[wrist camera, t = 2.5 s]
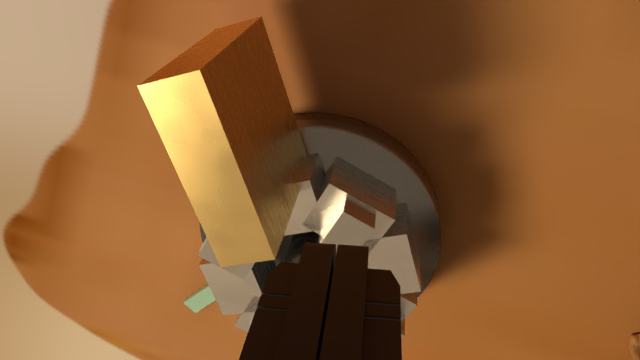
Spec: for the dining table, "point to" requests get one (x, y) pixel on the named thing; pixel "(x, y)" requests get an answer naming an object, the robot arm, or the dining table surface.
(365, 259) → the robot arm
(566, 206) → the dining table surface
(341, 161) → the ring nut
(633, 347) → the lion figurine
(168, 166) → the dining table surface
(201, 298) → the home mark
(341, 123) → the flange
